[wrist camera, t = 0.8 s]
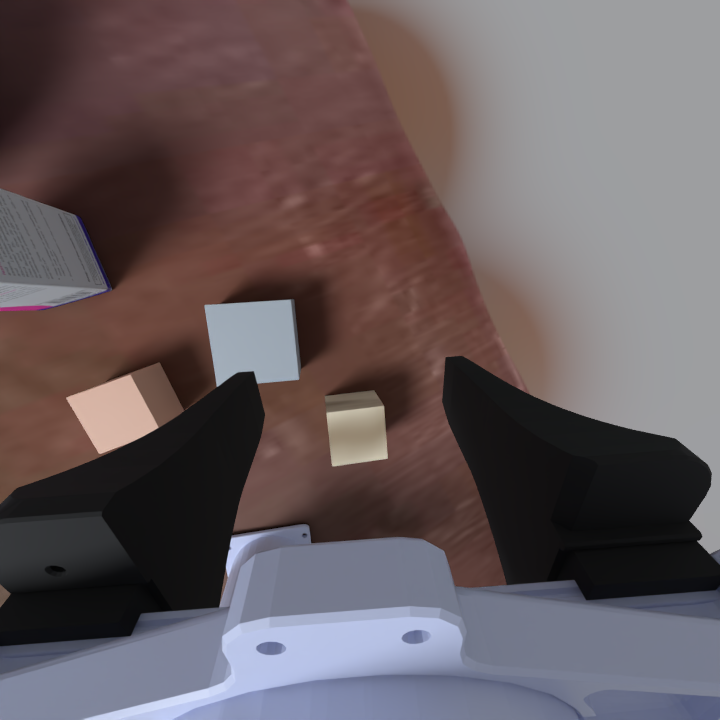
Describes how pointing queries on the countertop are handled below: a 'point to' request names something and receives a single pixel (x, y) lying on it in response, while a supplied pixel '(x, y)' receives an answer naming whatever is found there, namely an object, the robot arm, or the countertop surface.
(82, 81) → the countertop surface
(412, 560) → the robot arm
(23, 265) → the supplement box
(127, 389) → the terracotta cube
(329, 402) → the maple cube
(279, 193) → the countertop surface
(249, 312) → the base block
